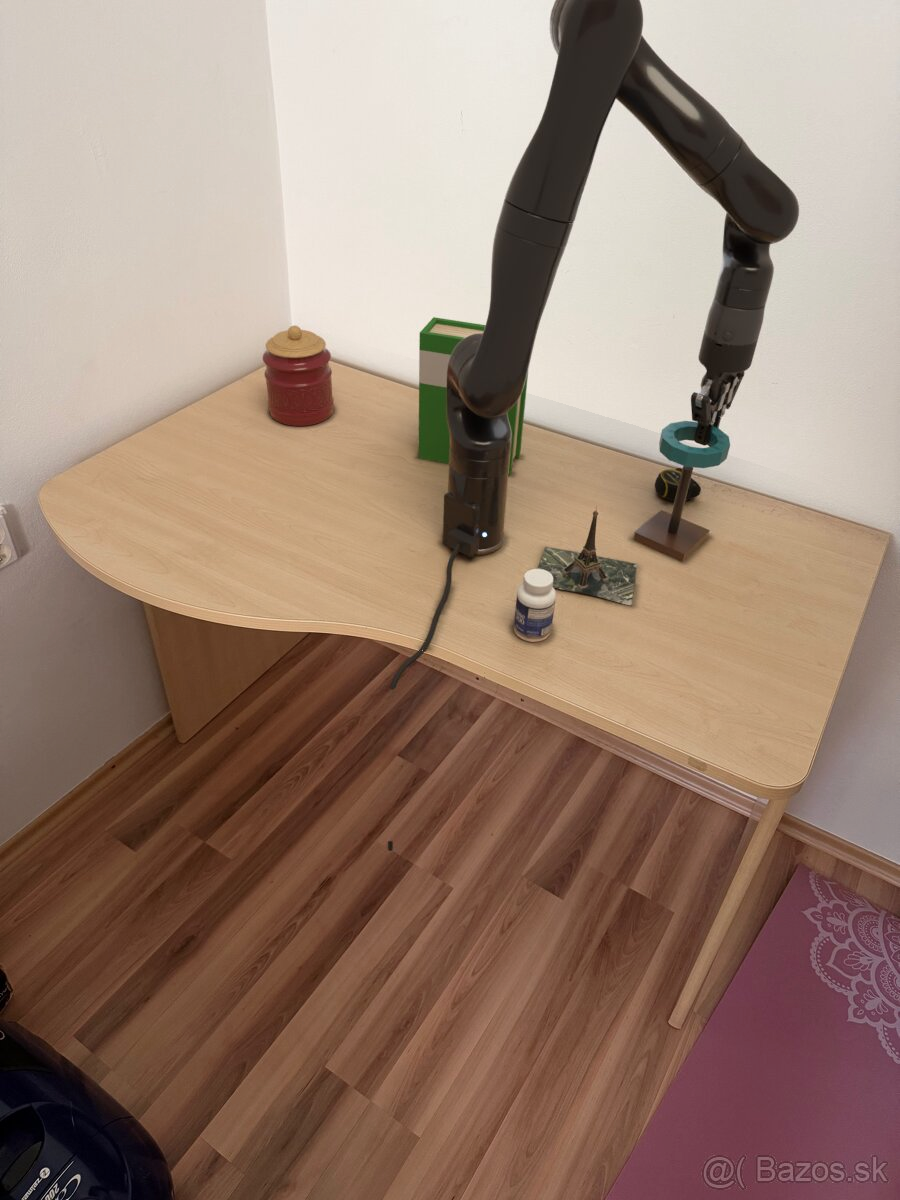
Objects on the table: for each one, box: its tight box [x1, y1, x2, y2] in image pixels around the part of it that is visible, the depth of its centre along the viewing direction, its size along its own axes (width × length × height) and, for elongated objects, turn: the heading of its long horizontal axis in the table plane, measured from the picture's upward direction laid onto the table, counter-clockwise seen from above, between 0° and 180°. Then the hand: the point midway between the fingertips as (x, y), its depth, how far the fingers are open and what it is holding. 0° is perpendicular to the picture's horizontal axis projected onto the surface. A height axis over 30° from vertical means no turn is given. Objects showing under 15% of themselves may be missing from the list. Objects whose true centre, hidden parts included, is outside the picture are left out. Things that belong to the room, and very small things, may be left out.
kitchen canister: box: [262, 325, 335, 427], centre depth 163 cm, size 13×13×18 cm
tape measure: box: [654, 467, 702, 502], centre depth 147 cm, size 7×7×4 cm
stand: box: [632, 465, 710, 562], centre depth 134 cm, size 9×9×14 cm
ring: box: [658, 420, 731, 469], centre depth 127 cm, size 10×10×2 cm
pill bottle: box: [513, 568, 557, 643], centre depth 117 cm, size 5×5×10 cm
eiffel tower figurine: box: [537, 506, 638, 607], centre depth 126 cm, size 15×10×13 cm
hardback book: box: [417, 316, 529, 477], centre depth 149 cm, size 18×7×24 cm, turn 72°
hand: (704, 439), depth 130 cm, fingers closed on ring, 2 cm apart
